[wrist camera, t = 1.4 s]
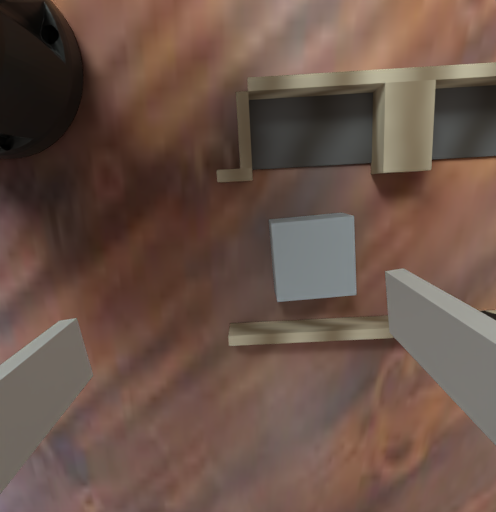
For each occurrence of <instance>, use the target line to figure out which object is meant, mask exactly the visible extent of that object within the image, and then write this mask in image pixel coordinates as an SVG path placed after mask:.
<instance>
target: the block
mask: <svg viewBox="0 0 496 512" xmlns="http://www.w3.org/2000/svg"><path fill="white" fill-rule="evenodd" d="M269 230H270V242H271V254H272V266H273V278H274V290H275V294H276V298H277V302H284V301H295V300H306V299H318V298H329V297H341V296H352V295H357V294H356V263H355V232H354V216H353V215H349V214H346V213H331V214H321V215H310V216H300V217H289V218H278V219H269Z"/></svg>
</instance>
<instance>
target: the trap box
mask: <svg viewBox="0 0 496 512" xmlns="http://www.w3.org/2000/svg"><path fill="white" fill-rule="evenodd" d="M236 104H237V122H238V139H239V156H240V169H225V170H217V182H220V183H222V182H240V181H253V176H252V170H256V169H274V168H291V167H309V166H326V165H344V164H361V163H371V174H381V173H399V172H416V171H426V170H431V165H432V159H449V158H466V157H484V156H496V62H495V63H479V64H463V65H446V66H430V67H414V68H398V69H381V70H365V71H349V72H332V73H316V74H300V75H284V76H267V77H251V78H248V91H243V92H236ZM487 312H491V313H494V314H496V310H487ZM228 338H229V346H239V345H259V344H280V343H300V342H321V341H341V340H362V339H382V338H394V337H393V335H392V334H391V333H390V332H389V320H388V315H387V316H367V317H347V318H327V319H307V320H287V321H267V322H247V323H230V328H229V335H228Z"/></svg>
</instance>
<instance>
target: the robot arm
mask: <svg viewBox="0 0 496 512" xmlns="http://www.w3.org/2000/svg"><path fill="white" fill-rule="evenodd" d="M82 86H83V69H82V61H81V56H80V52H79V48H78V45H77V42H76V39H75V37H74V34H73V32H72V30H71V28H70V26H69V24H68V23H67V21H66V19H65V18H64V16H63V15H62V13H61V12H60V11H59V9H58V8H57V7H56V6H55V5H54V4H53V2H52V1H51V0H0V158H3V159H14V158H22V157H27V156H30V155H33V154H36V153H38V152H40V151H42V150H44V149H46V148H48V147H49V146H51V145H52V144H53V143H55V142H56V141H57V140H58V139H59V138H60V137H61V136H62V135H63V134H64V132H65V131H66V130H67V129H68V127H69V126H70V124H71V122H72V121H73V119H74V117H75V115H76V112H77V110H78V107H79V103H80V99H81V94H82ZM385 278H386V292H387V306H388V320H389V332H390V333H391V334H392V335H393V337H394V338H395V339H396V340H397V341H398V342H399V343H400V344H401V345H402V346H403V347H404V348H405V349H406V350H407V351H408V353H409V354H410V355H411V356H412V357H413V358H414V359H415V360H416V361H417V362H418V363H419V364H420V365H421V366H422V367H423V369H424V370H425V371H426V372H427V373H428V374H429V375H430V376H431V377H432V378H433V379H434V380H435V381H436V382H437V383H438V384H439V386H440V387H441V388H442V389H443V390H444V391H445V392H446V393H447V394H448V395H449V396H450V397H451V398H452V399H453V400H454V402H455V403H456V404H457V405H458V406H459V407H460V408H461V409H462V410H463V411H464V412H465V413H466V414H467V415H468V416H469V418H470V419H471V420H472V421H473V422H474V423H475V424H476V425H477V426H478V427H479V428H480V429H481V430H482V431H483V432H484V433H485V435H486V436H487V437H488V438H489V439H490V440H491V441H492V442H493V443H494V444H495V445H496V314H494V313H491V312H487V311H478V310H476V309H475V308H473V307H471V306H469V305H468V304H466V303H464V302H462V301H460V300H459V299H457V298H455V297H453V296H452V295H450V294H448V293H446V292H444V291H443V290H441V289H439V288H437V287H436V286H434V285H432V284H430V283H429V282H427V281H425V280H423V279H421V278H420V277H418V276H416V275H414V274H413V273H411V272H409V271H407V270H405V269H404V268H403V269H397V270H390V271H385ZM92 377H93V373H92V369H91V366H90V362H89V359H88V355H87V352H86V348H85V345H84V341H83V338H82V334H81V331H80V327H79V324H78V320H77V318H74V319H68V320H61V321H58V322H57V323H56V324H54V325H53V326H52V327H50V328H49V329H48V330H46V331H45V332H44V333H42V334H41V335H40V336H38V337H37V338H36V339H34V340H33V341H32V342H30V343H29V344H28V345H26V346H25V347H24V348H22V349H21V350H20V351H18V352H17V353H16V354H14V355H13V356H12V357H10V358H9V359H8V360H6V361H5V362H4V363H2V364H1V365H0V494H1V493H2V491H3V490H4V489H5V488H6V486H7V485H8V484H9V482H10V481H11V480H12V479H13V477H14V476H15V475H16V474H17V472H18V471H19V470H20V468H21V467H22V466H23V465H24V463H25V462H26V461H27V459H28V458H29V457H30V456H31V454H32V453H33V452H34V451H35V449H36V448H37V447H38V445H39V444H40V443H41V442H42V440H43V439H44V438H45V437H46V435H47V434H48V433H49V431H50V430H51V429H52V428H53V426H54V425H55V424H56V422H57V421H58V420H59V419H60V417H61V416H62V415H63V414H64V412H65V411H66V410H67V408H68V407H69V406H70V405H71V403H72V402H73V401H74V400H75V398H76V397H77V396H78V394H79V393H80V392H81V391H82V389H83V388H84V387H85V386H86V384H87V383H88V382H89V380H90V379H91V378H92Z"/></svg>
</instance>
